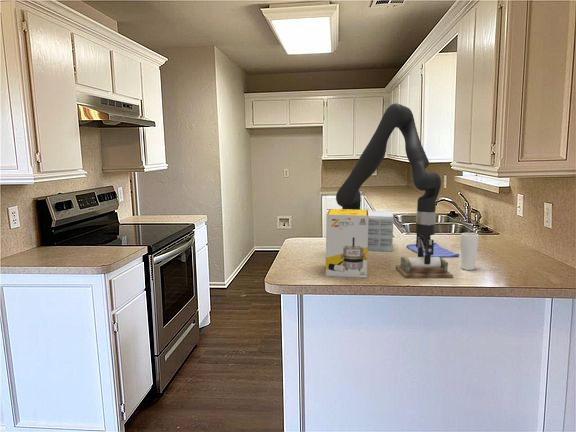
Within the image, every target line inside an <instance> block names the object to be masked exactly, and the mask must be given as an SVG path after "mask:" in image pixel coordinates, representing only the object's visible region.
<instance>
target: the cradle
mask: <svg viewBox="0 0 576 432" xmlns="http://www.w3.org/2000/svg"><path fill="white" fill-rule="evenodd" d="M439 258H440V261H441V268H410V262H409V261H407V260H408V259H407V258H406V257H404V256H401V257H400V265H395V269H396V271H397V272H399V274H400V275H401V276H402V277H403V278H404V279H453V278H454V274H452V273H451V272H450V271H448V267H449V262H448V261H446V260H445V258H441V257H439Z"/></svg>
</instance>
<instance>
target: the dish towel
mask: <svg viewBox="0 0 576 432" xmlns="http://www.w3.org/2000/svg"><path fill="white" fill-rule="evenodd" d="M406 249H408V250H410V251H412V252H413V253H415V254H417V255H418V249H417V247H416V243H410V244H407V245H406ZM428 252H429V250H428ZM460 254H461V253H455V252H453V251H452V250H449V249H448V248H445V247H443V246H441V245H440V244H438V243H437V242H434V250H433V255H431V257H441V258H442V259H452V258H460V256H461V255H460ZM423 257H425V253H424V254H423Z"/></svg>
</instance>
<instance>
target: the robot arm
mask: <svg viewBox="0 0 576 432" xmlns="http://www.w3.org/2000/svg"><path fill="white" fill-rule="evenodd" d="M396 128H397V129H398V130H399V131H400V132H401V133H400V134H402V136H403V139H404V144H405V145H404V147H405V148H404V149H405V150H404V151H405V154H406V157H407V161H408V163H409V166H411V174H412V180H413V185H414V187H415V188H416V189H417V190H419V191H422V192H423V191H424V194H423V195H421V196H419V197H418V198H417V204H416V205H417V207H416V208H417V209H416V215H415V233H416V239H415V244H416V247H417V249H418V254H417V257H423V254H424V253H425V257H424V264H430V259H431V255H433V250H434V243H435V240H434V239H431V237H432V236H434V235H435V234H436V222H437V221H436V218H437V217H436V209H437V207H436V206H437V199H438V197H439V193H440V190H441V187H442V179H441V176H440V174H438V173H437V172H426V169H427V168H428V167H429V165H430V160H429V159H428V156H427V154H426V151H425V149H424V147H423V144H422V142H421V139H420V136H419V134H418V131H417V127H416V122H415V118H414V114H413V112H412V110H411V108H409V107H408V106H405V105H402V104H400V103H398V102H397V103H396V102H395V103H392V104H390V105H389V106H388V107H387V108H386V109H385V111H384V113H383V115H382V117H381V119H380V122H379V123H378V125H377V128H376V130H375V131H374V133H373V135H372V137H371V138H370V140H369V142H368V144H367V145H366V147H365V148H364V149H363V152H362V153H361V155H360V156H359V158H358V160H357V162H356V164H355V166H354V167H353V168H352V169H351V171H350V174H349V175H348V177H347V178H346V179H345V181H344V183H342V185H340V187H339V188H338V190H337V192H336V195H335V201H336V204H337V205H338V206H340V207H341V209H351V210H361V201H362V200H361V199H362V195H361V192H360V188H361V186H363V184H364V183H365V182H366V181H367V180H368V179H369V178H371V176H372V175H373V174H374V173H375V172H376V171H377V169H379V167H380V166H381V163H382V162H383V160H384V158H385V156H386V152H387V144H388V141H389V139H390V136H391V134H392V133H393V132H394V131H395V129H396ZM428 250H429V252H428Z"/></svg>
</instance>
